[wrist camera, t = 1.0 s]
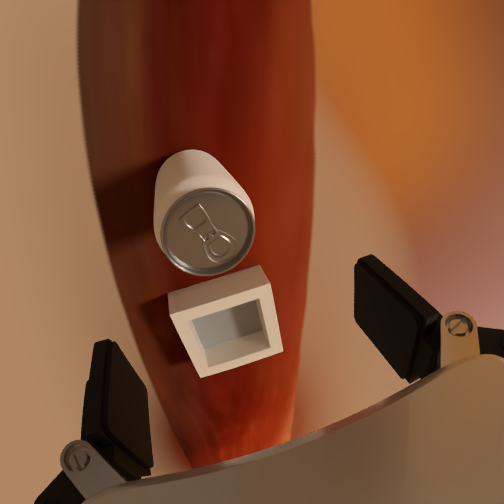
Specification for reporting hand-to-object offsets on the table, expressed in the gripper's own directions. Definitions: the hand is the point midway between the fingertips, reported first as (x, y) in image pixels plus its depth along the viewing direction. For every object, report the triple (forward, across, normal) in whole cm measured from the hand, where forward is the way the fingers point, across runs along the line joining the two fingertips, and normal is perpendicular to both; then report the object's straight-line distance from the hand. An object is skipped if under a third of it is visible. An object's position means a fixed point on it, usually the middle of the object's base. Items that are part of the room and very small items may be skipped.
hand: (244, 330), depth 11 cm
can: (+20, 0, 0) cm, 21 cm away
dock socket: (+20, 0, +16) cm, 26 cm away
